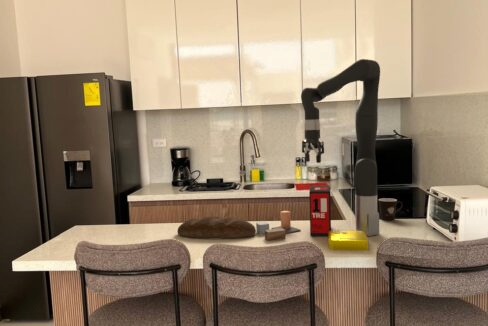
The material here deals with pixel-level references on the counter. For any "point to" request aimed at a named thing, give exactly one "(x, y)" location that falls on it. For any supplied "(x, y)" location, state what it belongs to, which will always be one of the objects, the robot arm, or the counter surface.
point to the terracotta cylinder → (285, 220)
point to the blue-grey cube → (262, 227)
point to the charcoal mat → (288, 230)
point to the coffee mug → (388, 208)
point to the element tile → (347, 240)
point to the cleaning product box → (320, 211)
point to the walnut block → (275, 234)
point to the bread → (216, 228)
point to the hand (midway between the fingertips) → (312, 162)
